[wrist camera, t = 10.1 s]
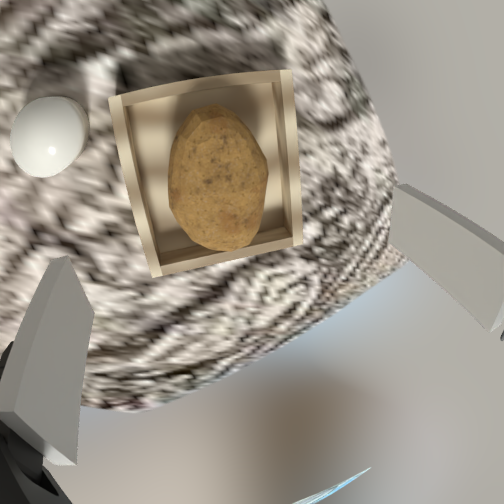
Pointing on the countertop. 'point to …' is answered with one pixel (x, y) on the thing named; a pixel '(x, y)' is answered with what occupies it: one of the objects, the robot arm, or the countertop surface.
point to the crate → (158, 154)
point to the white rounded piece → (49, 135)
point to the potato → (217, 179)
